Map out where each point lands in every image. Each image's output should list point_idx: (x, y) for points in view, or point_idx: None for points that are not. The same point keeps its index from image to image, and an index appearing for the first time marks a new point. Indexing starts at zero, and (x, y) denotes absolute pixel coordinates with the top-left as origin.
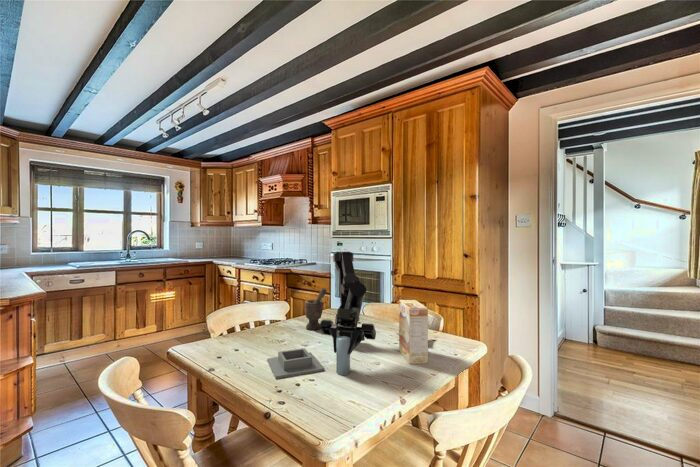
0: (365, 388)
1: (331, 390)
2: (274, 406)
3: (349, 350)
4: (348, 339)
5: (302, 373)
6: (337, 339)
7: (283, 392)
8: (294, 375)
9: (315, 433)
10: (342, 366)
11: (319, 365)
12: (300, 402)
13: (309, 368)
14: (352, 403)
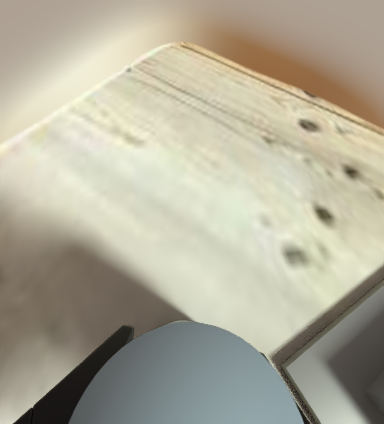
0: (85, 212)
1: (201, 188)
2: (314, 112)
3: (117, 338)
4: (91, 395)
5: (360, 300)
6: (269, 364)
7: (335, 166)
8: (381, 282)
9: (196, 55)
10: (181, 320)
11: (330, 412)
12: (264, 128)
13: (359, 351)
14: (132, 133)
